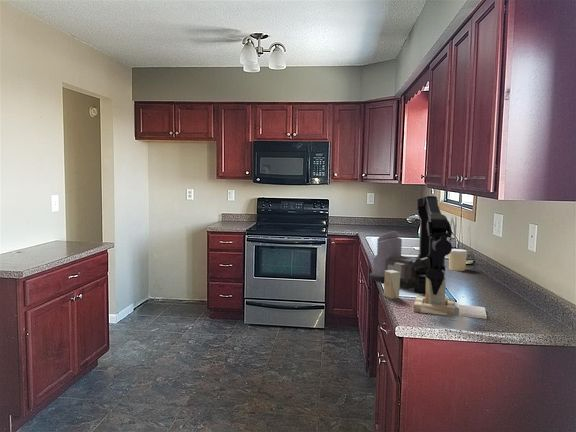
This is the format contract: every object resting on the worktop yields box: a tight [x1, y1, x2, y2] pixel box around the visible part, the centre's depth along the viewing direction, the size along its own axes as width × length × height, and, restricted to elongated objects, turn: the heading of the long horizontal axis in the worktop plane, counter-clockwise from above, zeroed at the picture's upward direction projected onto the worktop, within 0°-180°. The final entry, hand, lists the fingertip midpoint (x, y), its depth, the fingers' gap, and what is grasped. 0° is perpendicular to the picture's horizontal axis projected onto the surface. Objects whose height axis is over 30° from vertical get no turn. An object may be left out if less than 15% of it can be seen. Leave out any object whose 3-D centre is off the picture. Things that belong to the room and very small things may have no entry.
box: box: [383, 270, 401, 299], centre depth 182 cm, size 5×4×11 cm
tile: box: [458, 304, 488, 320], centre depth 163 cm, size 12×9×1 cm
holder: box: [413, 295, 456, 317], centre depth 167 cm, size 14×14×2 cm
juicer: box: [369, 230, 417, 290], centre depth 210 cm, size 30×16×24 cm, turn 27°
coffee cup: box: [448, 248, 468, 272], centre depth 239 cm, size 9×9×12 cm
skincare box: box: [425, 276, 446, 306], centre depth 167 cm, size 6×4×12 cm
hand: (435, 292), depth 167 cm, fingers closed on skincare box, 5 cm apart
